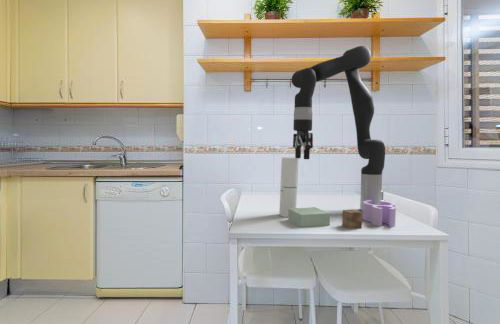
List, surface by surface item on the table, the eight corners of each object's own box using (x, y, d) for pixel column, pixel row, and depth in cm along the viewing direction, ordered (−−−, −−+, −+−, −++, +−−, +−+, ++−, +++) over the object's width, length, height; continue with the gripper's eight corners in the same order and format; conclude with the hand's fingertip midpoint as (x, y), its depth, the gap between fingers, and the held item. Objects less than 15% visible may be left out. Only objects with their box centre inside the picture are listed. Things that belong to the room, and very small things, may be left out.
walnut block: (353, 224, 123) (354, 209, 123) (361, 228, 119) (362, 212, 118) (342, 225, 122) (342, 210, 122) (349, 228, 117) (350, 212, 117)
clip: (403, 227, 120) (403, 209, 119) (368, 226, 122) (368, 208, 121) (389, 216, 139) (390, 200, 139) (359, 215, 142) (360, 199, 141)
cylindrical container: (290, 218, 134) (293, 158, 132) (276, 215, 138) (278, 157, 136) (298, 215, 140) (301, 158, 138) (284, 212, 144) (287, 156, 142)
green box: (314, 219, 134) (315, 207, 134) (329, 226, 122) (330, 213, 122) (288, 220, 130) (288, 208, 130) (301, 228, 119) (301, 214, 119)
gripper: (319, 118, 125) (318, 159, 126) (304, 120, 138) (303, 157, 139) (301, 117, 123) (300, 159, 124) (287, 120, 136) (287, 157, 137)
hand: (302, 158), depth 132 cm, fingers open, 8 cm apart
